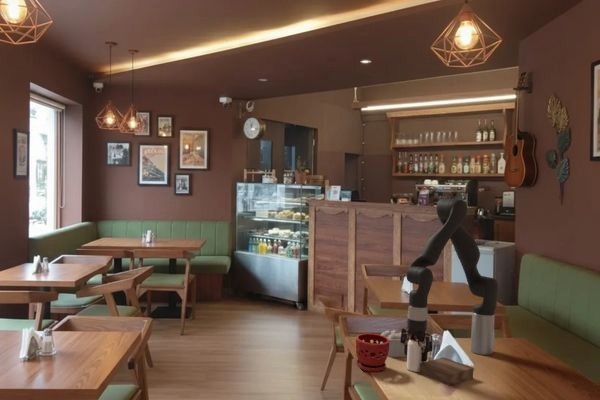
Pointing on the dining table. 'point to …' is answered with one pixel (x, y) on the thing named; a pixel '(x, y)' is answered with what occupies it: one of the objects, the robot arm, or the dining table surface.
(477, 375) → the dining table surface
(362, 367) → the plant pot
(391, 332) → the lumpy-topped squat cylinder
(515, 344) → the dining table surface
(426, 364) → the walnut stand
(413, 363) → the can
